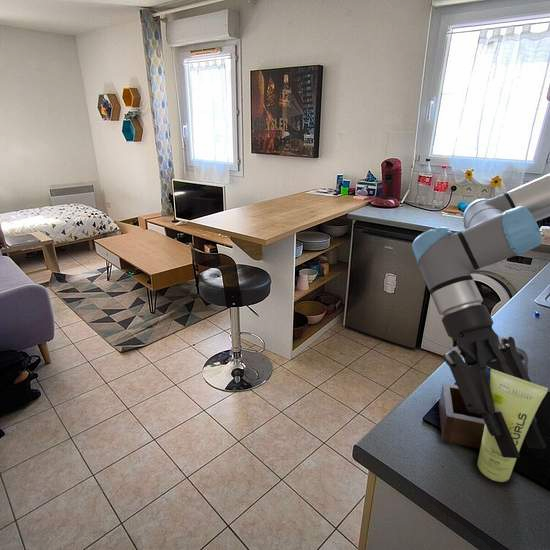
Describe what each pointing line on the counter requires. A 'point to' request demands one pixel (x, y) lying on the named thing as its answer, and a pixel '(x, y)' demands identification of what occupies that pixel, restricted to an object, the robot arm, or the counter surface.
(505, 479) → the tube
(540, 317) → the counter surface
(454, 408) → the frame
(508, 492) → the counter surface
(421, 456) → the counter surface
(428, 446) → the counter surface
